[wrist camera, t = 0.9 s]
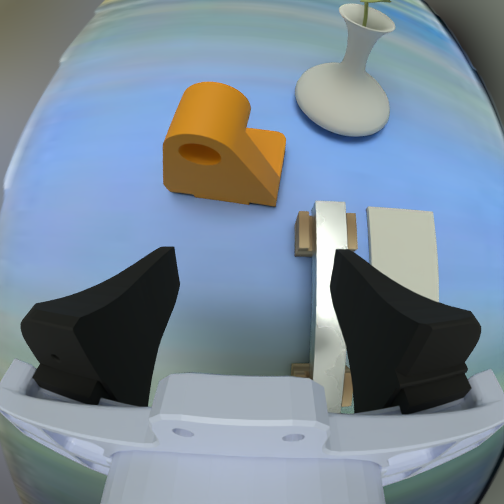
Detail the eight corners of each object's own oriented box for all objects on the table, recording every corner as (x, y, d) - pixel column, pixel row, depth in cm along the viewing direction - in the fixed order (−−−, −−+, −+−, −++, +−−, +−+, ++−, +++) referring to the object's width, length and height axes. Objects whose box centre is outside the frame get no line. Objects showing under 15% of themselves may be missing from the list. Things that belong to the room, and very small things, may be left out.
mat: (427, 396, 22) (430, 397, 22) (362, 407, 23) (363, 409, 22) (430, 213, 26) (432, 211, 25) (366, 208, 26) (368, 206, 26)
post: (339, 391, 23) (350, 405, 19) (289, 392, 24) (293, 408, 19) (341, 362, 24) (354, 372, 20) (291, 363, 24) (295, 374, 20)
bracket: (286, 146, 28) (292, 64, 16) (275, 209, 27) (278, 142, 15) (190, 136, 29) (155, 62, 17) (172, 194, 28) (118, 132, 16)
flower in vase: (376, 159, 27) (488, -33, 2) (280, 123, 28) (281, -101, 4) (391, 88, 29) (452, -58, 4) (312, 59, 30) (327, -100, 6)
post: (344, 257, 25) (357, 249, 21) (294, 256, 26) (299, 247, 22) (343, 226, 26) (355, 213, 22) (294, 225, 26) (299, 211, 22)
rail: (333, 407, 20) (339, 417, 18) (306, 408, 20) (309, 419, 18) (338, 211, 23) (345, 202, 21) (311, 210, 23) (315, 200, 21)
